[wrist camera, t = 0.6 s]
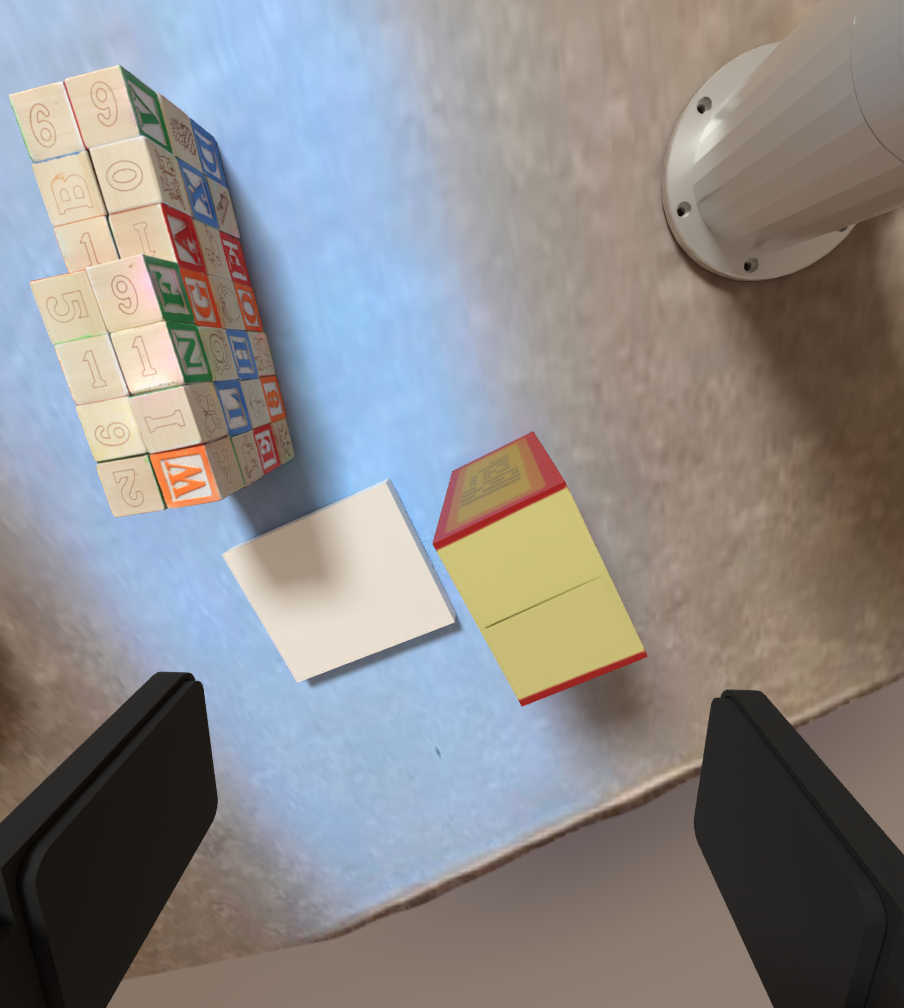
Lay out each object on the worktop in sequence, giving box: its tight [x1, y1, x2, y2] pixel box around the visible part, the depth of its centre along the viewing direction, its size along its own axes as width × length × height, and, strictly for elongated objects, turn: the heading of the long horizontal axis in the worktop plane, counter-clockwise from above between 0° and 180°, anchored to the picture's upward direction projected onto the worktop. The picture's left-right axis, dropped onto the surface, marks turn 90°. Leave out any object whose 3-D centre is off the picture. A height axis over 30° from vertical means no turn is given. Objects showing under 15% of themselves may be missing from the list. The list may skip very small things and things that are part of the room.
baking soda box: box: [433, 432, 648, 706], centre depth 32 cm, size 10×6×16 cm
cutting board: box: [222, 478, 456, 683], centre depth 41 cm, size 14×12×2 cm
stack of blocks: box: [9, 65, 295, 517], centre depth 32 cm, size 21×6×12 cm, turn 10°
